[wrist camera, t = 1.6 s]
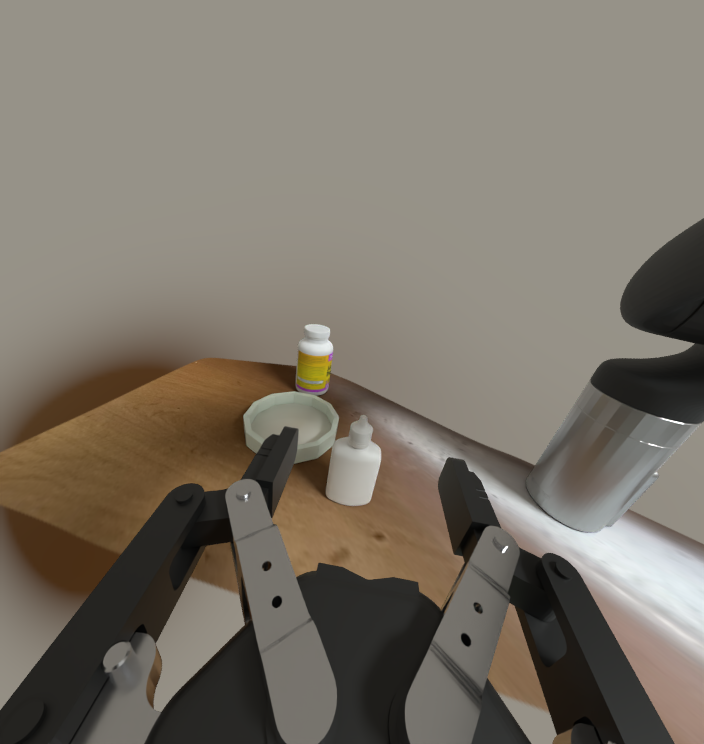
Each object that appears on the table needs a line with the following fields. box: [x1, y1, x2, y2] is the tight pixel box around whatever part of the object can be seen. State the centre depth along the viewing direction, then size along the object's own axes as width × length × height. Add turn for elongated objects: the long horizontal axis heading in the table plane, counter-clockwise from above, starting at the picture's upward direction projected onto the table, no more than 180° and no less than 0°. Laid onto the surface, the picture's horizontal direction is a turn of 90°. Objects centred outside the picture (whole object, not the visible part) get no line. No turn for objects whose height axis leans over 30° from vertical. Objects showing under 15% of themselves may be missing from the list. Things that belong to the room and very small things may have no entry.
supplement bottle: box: [296, 324, 333, 396], centre depth 51 cm, size 7×7×13 cm
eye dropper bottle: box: [326, 415, 381, 506], centre depth 30 cm, size 4×6×12 cm
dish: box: [243, 392, 339, 464], centre depth 41 cm, size 14×14×2 cm
